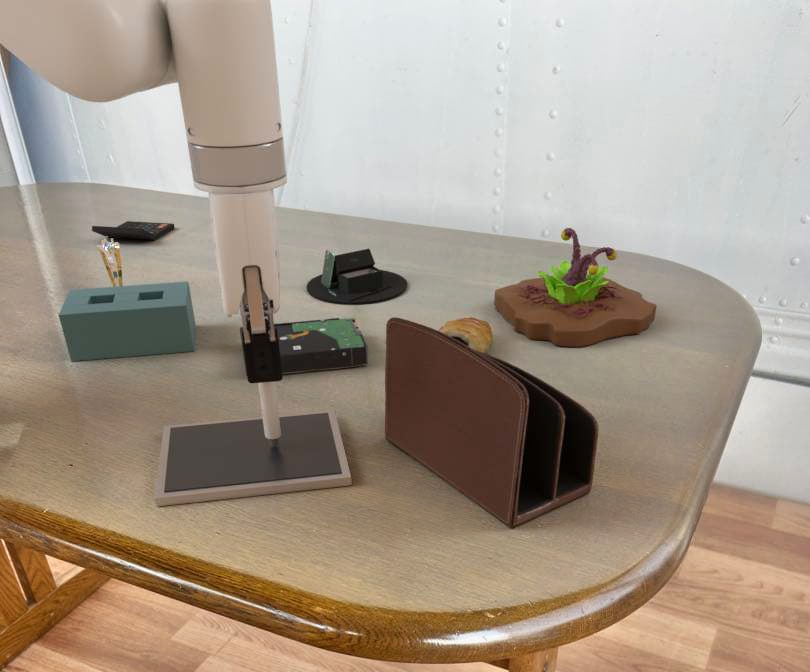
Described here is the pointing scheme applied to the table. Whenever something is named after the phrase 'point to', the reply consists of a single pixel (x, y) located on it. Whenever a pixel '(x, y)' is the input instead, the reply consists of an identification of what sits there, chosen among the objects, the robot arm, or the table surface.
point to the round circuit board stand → (355, 280)
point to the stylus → (270, 411)
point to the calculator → (136, 230)
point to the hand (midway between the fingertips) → (264, 374)
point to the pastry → (470, 333)
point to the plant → (574, 303)
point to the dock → (128, 321)
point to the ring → (111, 260)
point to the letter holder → (485, 424)
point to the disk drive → (319, 345)
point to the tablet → (250, 458)
